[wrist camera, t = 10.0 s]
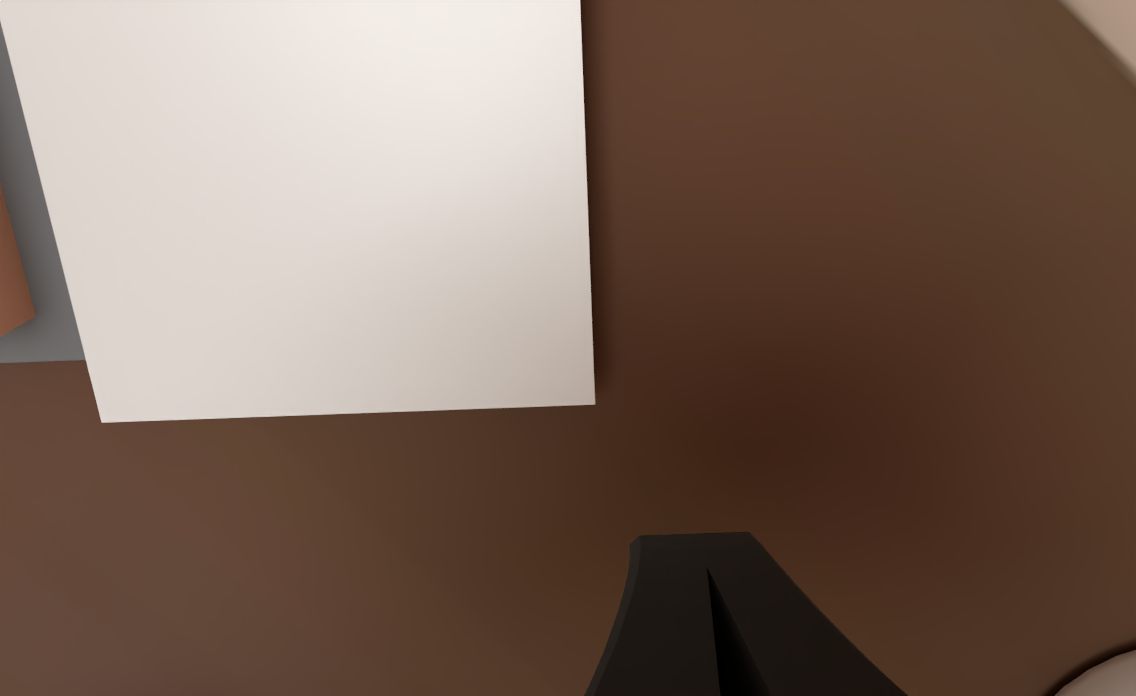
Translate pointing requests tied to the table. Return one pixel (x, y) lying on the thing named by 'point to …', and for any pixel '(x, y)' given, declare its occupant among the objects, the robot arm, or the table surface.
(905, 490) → the table surface
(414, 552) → the table surface
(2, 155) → the charcoal mat
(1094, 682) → the milk bottle
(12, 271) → the terracotta tile
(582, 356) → the white riser
